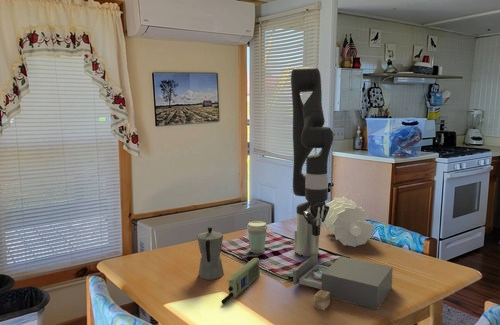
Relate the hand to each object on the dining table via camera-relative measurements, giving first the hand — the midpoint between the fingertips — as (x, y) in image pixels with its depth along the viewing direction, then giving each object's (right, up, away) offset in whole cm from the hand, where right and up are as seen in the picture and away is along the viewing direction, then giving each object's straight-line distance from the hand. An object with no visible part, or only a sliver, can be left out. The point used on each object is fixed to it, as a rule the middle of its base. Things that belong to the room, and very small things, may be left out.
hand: (316, 235), depth 140 cm
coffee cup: (-20, -13, +32) cm, 40 cm away
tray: (+4, -16, 0) cm, 16 cm away
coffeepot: (-37, -17, +8) cm, 41 cm away
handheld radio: (-26, -18, -2) cm, 32 cm away
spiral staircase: (+21, -10, +45) cm, 51 cm away
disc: (+2, -15, +1) cm, 15 cm away
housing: (+13, -18, -5) cm, 22 cm away
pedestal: (-1, -19, -15) cm, 24 cm away
